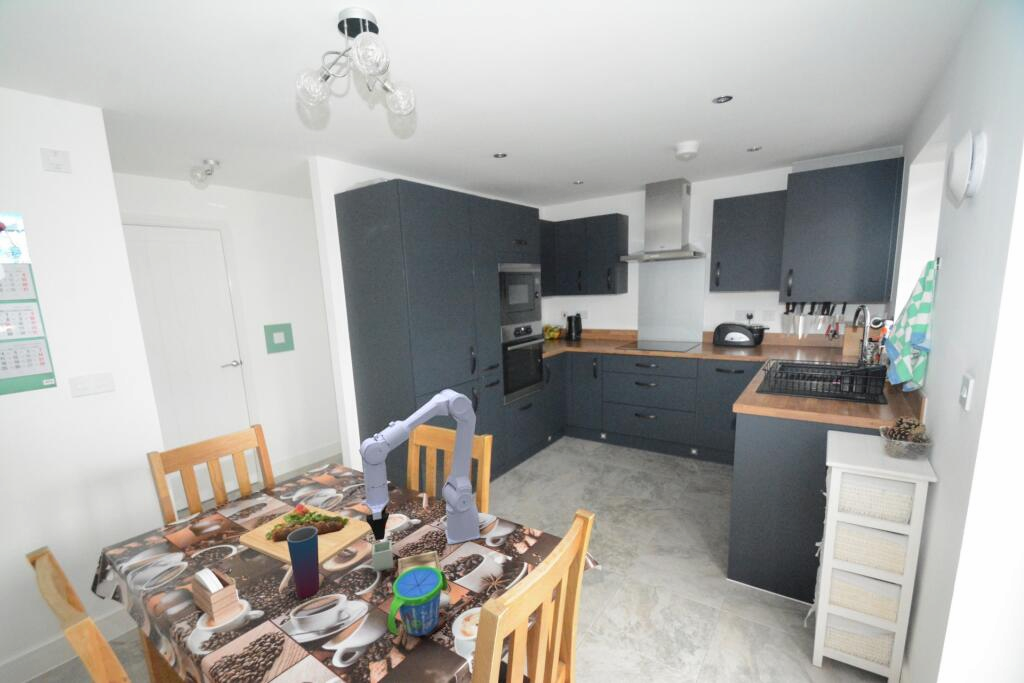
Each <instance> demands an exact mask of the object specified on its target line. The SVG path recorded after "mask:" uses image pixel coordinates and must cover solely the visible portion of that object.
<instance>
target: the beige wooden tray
mask: <svg viewBox="0 0 1024 683" xmlns="http://www.w3.org/2000/svg"><path fill="white" fill-rule="evenodd" d="M397 566H398V577H399V576H400V575H401V574H402V573H404V572H406V571H407V570H410V569H412V568H416V567H422V566H427V567H432V568H437V569H440V570H442V569H441V564H440V561H439V556H438V551H437V550H434V551H429V552H425V553H420V554H417V555H416V554H415V555H412V556H411V555H410V556H405V557H402V558H401V557H400V558H398V559H397Z"/></svg>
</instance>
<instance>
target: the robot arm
mask: <svg viewBox="0 0 1024 683" xmlns="http://www.w3.org/2000/svg"><path fill="white" fill-rule="evenodd" d="M449 414H450V416H452V418H453V419H454V420H455V421H456V422H457V425H456V430H455V431H456V432H455V438H454V446H453V454H452V462H451V469H450V474H449V475H448V476H447V477H446V481H445V484H444V486H443V487H442V489H441V495H442V498H443V499H444V500H445V516H446V529H444V533H445V536H446V541H447V544H448V545H449V546H450V545H455V544H459V543H464V542H465V543H466V542H469V541H473V540H478V539H480V538H481V535H480V519H479V510H478V506H477V504H476V503H475V502H474V496H473V493H472V491H473V486H472V483H471V480H470V478H469V476H470V470H471V469H470V467H471V460H472V453H473V445H474V438H475V431H476V421H477V416H476V413H475V410H474V408H473V402H472V400H470V399H469V398H468V397H467V396H466V395H465V394H463V393H459V392H457V391H454V390H453V389H451V388H446V389H444V390H442V391H441V392H440V393H437V394H435V395H434V396H433V397H432V398H431V399H430V400H429V401H428V402H426V403H425V404H424V405H423V406H422V407H420V408H419V409H417V410H416V411H415V412H414V413H412V414H410V416H409V417H407V418H406V419H404V420H396V421H390V423H388V427H386V428H385V429H383V430H382V431H380V432H378V433H375V434H374V435H373V437H369V438H366V439H365V440H364V441H362V443H361V445H360V447H359V449H358V452H359V454H360V456H361V457H362V466H363V482H364V492H365V499H363V500H361V504H360V505H361V506H366V507H367V509H368V510H370V512H371V514H367V515H366V516H365V520H366V521H365V522H367V523H368V524H369V525H370V527H371V529H372V531H371V532H372V534H373V537H374V540H375V541H376V542H377V541H380V540H385V535H386V526H387V522H388V519H389V517H390V512H386V511H387V506H388V504H389V502H390V496H389V490H388V489H389V486H388V478H387V477H388V476H387V465H386V459H387V457H388V454H389V453H390V452H391V451H392V450H395V448H397V447H398V446H400V445H401V444H403V443H404V442H405V441H407V440H408V439H410V436H411V433H412V431H414V430H415V429H417V428H418V427H420V426H421V425H423V424H424V423H426V422H427V421H429V420H430V419H432V418H434V417H436V416H445V417H446V416H449Z"/></svg>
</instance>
